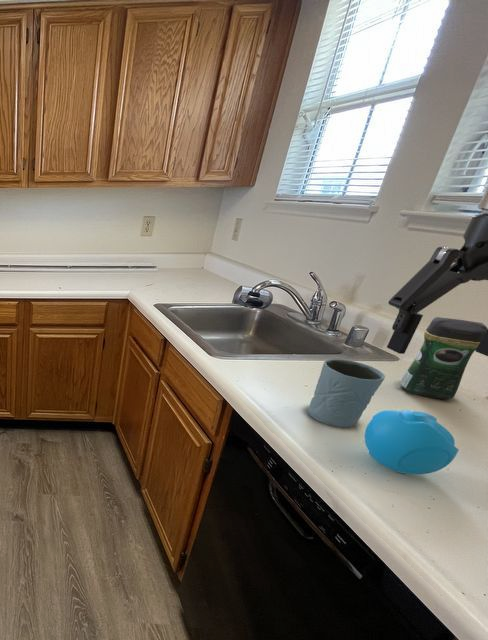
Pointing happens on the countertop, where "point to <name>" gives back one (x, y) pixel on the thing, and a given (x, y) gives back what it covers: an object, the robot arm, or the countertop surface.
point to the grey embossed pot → (344, 392)
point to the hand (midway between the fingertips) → (439, 352)
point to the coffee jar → (443, 357)
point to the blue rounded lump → (409, 442)
